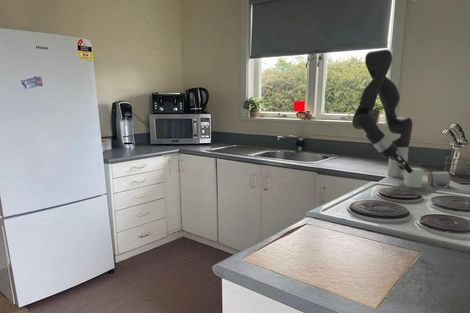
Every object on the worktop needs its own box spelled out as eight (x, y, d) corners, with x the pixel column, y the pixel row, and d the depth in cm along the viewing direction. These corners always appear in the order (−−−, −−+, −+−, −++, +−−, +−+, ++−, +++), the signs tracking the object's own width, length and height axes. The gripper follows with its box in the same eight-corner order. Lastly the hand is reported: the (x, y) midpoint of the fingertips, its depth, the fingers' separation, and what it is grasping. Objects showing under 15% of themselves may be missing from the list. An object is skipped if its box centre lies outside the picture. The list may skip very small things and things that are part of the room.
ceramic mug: (426, 184, 168) (427, 169, 166) (444, 185, 166) (445, 170, 165) (432, 189, 158) (434, 173, 156) (452, 190, 156) (454, 174, 154)
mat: (405, 183, 167) (405, 182, 167) (440, 189, 156) (440, 188, 156) (389, 189, 154) (389, 188, 154) (426, 197, 142) (426, 195, 142)
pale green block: (408, 187, 158) (410, 169, 156) (403, 184, 164) (405, 167, 162) (421, 187, 157) (423, 170, 156) (416, 184, 163) (417, 167, 162)
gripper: (396, 142, 151) (420, 167, 152) (386, 139, 165) (407, 162, 166) (383, 153, 153) (406, 178, 153) (374, 149, 167) (395, 172, 167)
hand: (407, 170), depth 159 cm, fingers open, 8 cm apart
